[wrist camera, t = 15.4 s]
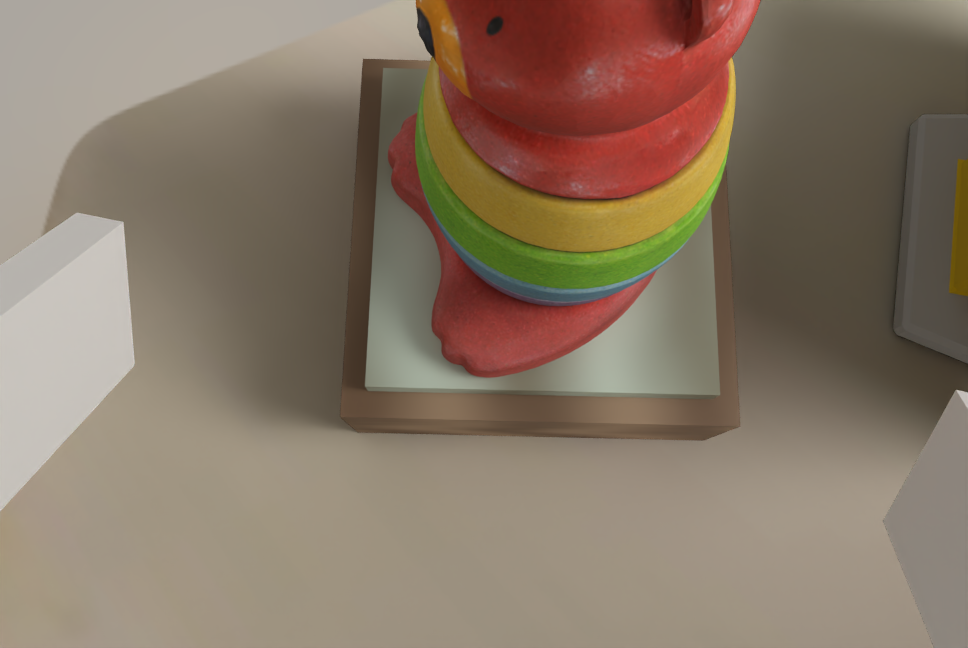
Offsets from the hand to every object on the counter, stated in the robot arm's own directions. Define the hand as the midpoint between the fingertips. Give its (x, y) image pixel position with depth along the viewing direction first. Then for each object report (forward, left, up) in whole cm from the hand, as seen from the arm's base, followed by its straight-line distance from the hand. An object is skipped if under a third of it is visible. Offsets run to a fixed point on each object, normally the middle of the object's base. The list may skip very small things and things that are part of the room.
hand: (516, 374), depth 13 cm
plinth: (-2, -9, -23) cm, 25 cm away
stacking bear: (-2, -9, -17) cm, 19 cm away
